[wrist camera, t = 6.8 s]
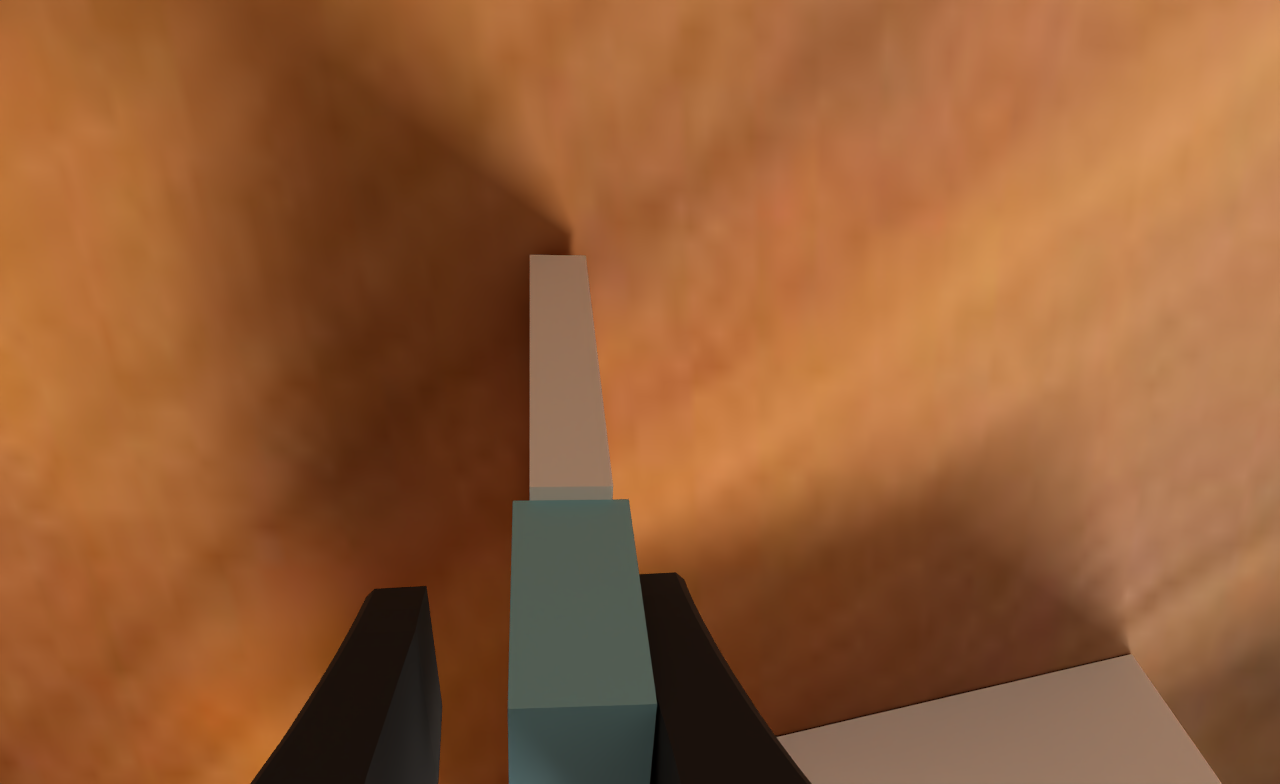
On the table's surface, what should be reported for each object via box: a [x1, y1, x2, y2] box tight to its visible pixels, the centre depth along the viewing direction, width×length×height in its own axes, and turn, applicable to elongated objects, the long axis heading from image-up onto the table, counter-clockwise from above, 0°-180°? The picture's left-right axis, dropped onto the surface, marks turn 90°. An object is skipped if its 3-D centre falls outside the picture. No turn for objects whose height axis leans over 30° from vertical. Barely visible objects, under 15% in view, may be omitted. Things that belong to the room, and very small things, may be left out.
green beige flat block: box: [508, 255, 657, 784], centre depth 17 cm, size 14×1×10 cm, turn 177°
